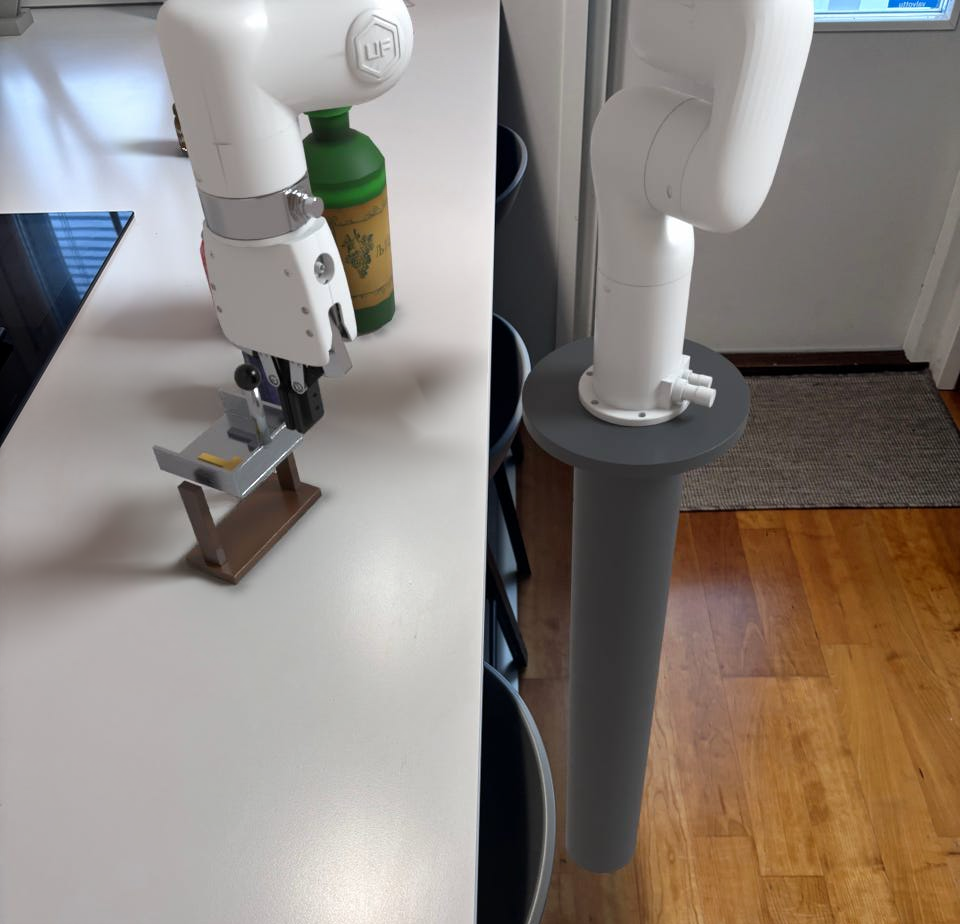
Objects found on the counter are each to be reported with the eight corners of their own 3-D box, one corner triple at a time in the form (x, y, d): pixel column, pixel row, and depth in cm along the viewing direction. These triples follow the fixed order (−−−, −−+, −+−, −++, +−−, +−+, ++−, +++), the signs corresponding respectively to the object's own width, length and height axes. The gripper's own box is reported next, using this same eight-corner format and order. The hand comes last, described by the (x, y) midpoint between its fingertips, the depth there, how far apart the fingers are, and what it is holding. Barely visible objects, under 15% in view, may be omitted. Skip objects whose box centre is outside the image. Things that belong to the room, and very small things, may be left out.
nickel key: (284, 440, 90) (283, 436, 90) (268, 455, 89) (267, 451, 89) (238, 425, 92) (237, 421, 92) (222, 439, 91) (221, 436, 90)
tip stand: (322, 495, 99) (303, 413, 92) (236, 584, 92) (208, 502, 84) (274, 479, 102) (252, 397, 94) (187, 565, 94) (155, 483, 86)
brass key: (256, 466, 88) (255, 463, 88) (240, 482, 86) (239, 478, 86) (209, 450, 90) (208, 447, 89) (192, 465, 88) (191, 462, 88)
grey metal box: (313, 441, 91) (290, 338, 83) (248, 504, 85) (217, 401, 77) (229, 414, 94) (199, 313, 86) (161, 473, 89) (123, 371, 81)
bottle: (377, 348, 117) (338, 95, 96) (301, 331, 120) (248, 83, 99) (419, 304, 123) (391, 57, 102) (346, 289, 126) (305, 47, 105)
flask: (248, 382, 113) (225, 296, 105) (273, 376, 114) (252, 290, 106) (265, 426, 108) (242, 339, 100) (291, 419, 108) (271, 333, 100)
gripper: (378, 197, 67) (406, 420, 81) (207, 162, 72) (261, 377, 86) (315, 246, 63) (356, 473, 76) (138, 206, 68) (206, 424, 82)
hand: (306, 422), depth 81 cm, fingers closed
